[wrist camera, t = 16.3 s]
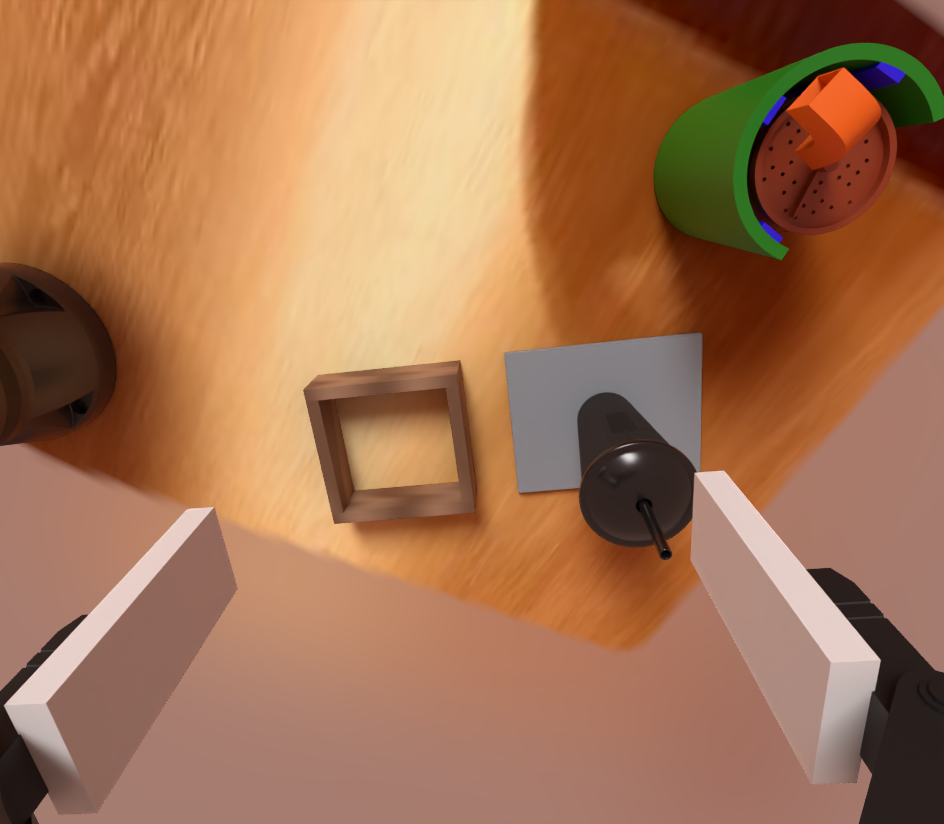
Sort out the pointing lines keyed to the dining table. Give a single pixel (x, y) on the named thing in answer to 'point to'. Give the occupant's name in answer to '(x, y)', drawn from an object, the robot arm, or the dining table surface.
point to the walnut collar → (397, 499)
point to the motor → (792, 147)
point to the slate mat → (592, 372)
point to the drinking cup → (631, 476)
